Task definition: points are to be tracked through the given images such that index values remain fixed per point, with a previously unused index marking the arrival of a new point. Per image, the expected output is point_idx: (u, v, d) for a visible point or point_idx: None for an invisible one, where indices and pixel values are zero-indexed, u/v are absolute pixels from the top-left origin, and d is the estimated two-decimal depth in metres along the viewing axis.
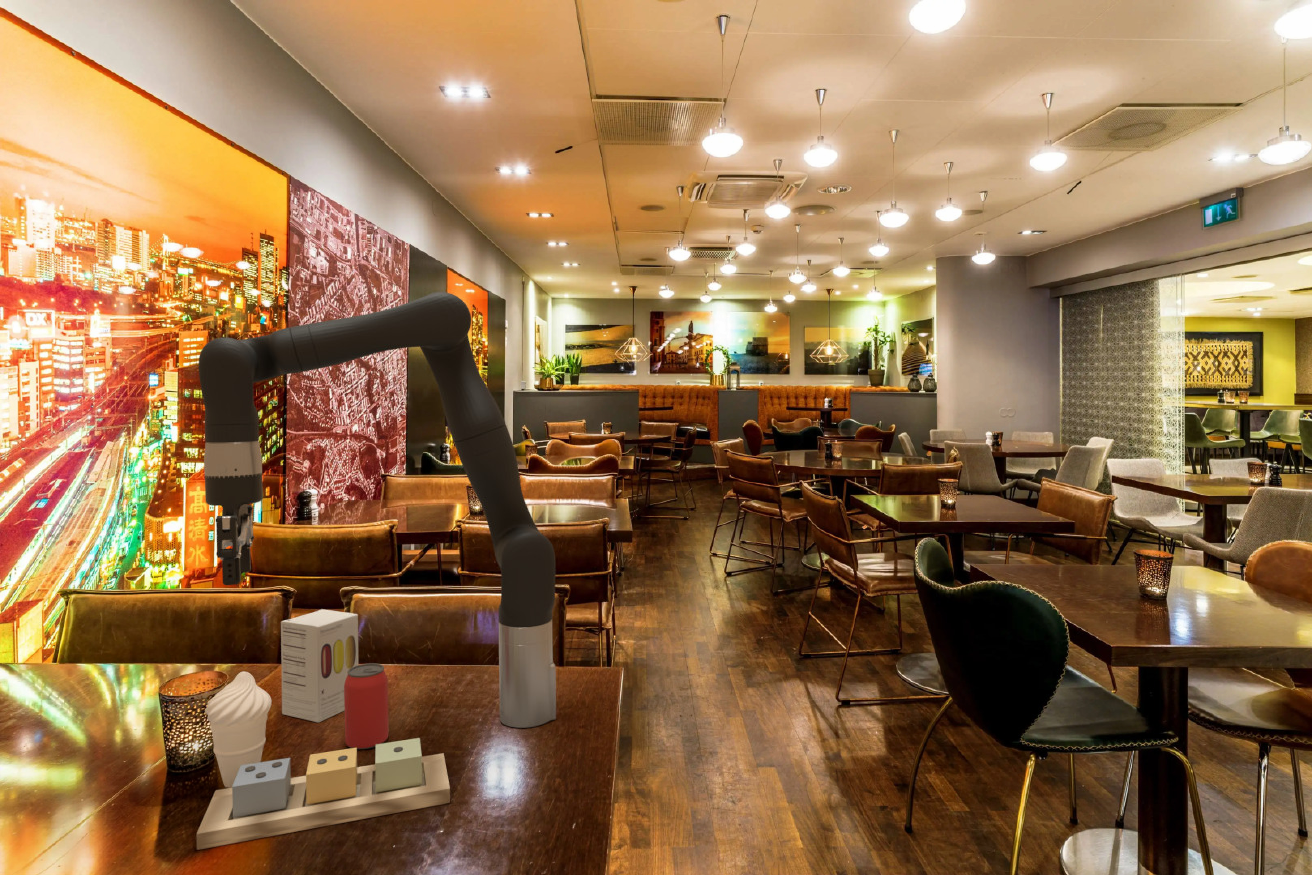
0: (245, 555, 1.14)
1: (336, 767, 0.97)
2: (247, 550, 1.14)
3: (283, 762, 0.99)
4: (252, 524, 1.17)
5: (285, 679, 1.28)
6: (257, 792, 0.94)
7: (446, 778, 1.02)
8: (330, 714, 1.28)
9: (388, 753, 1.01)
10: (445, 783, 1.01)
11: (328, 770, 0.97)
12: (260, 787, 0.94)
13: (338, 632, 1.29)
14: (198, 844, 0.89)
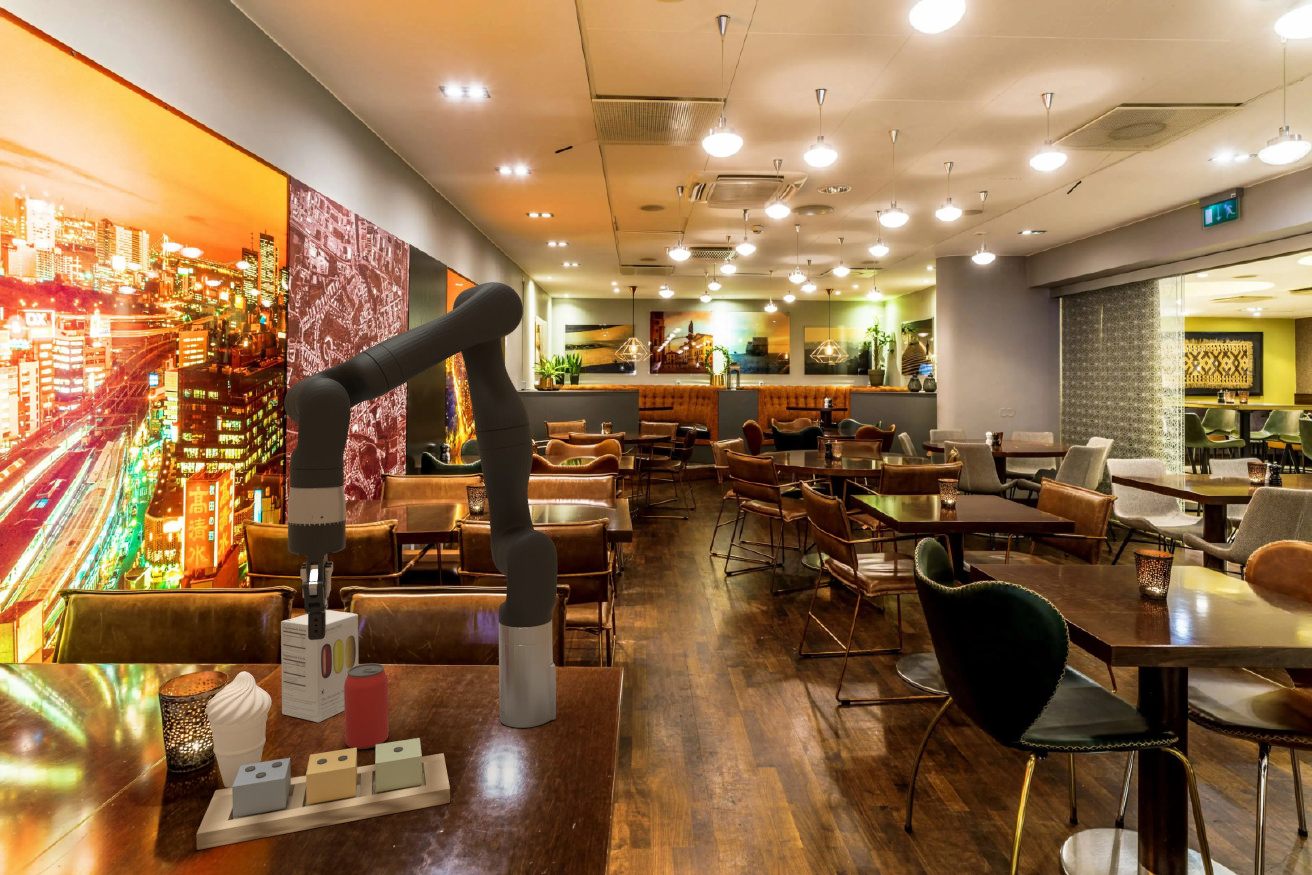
0: None
1: (336, 767, 0.97)
2: None
3: (283, 762, 0.99)
4: None
5: (285, 679, 1.28)
6: (257, 792, 0.94)
7: (446, 778, 1.02)
8: (330, 714, 1.28)
9: (388, 753, 1.01)
10: (445, 783, 1.01)
11: (328, 770, 0.97)
12: (260, 787, 0.94)
13: (338, 632, 1.29)
14: (198, 844, 0.89)
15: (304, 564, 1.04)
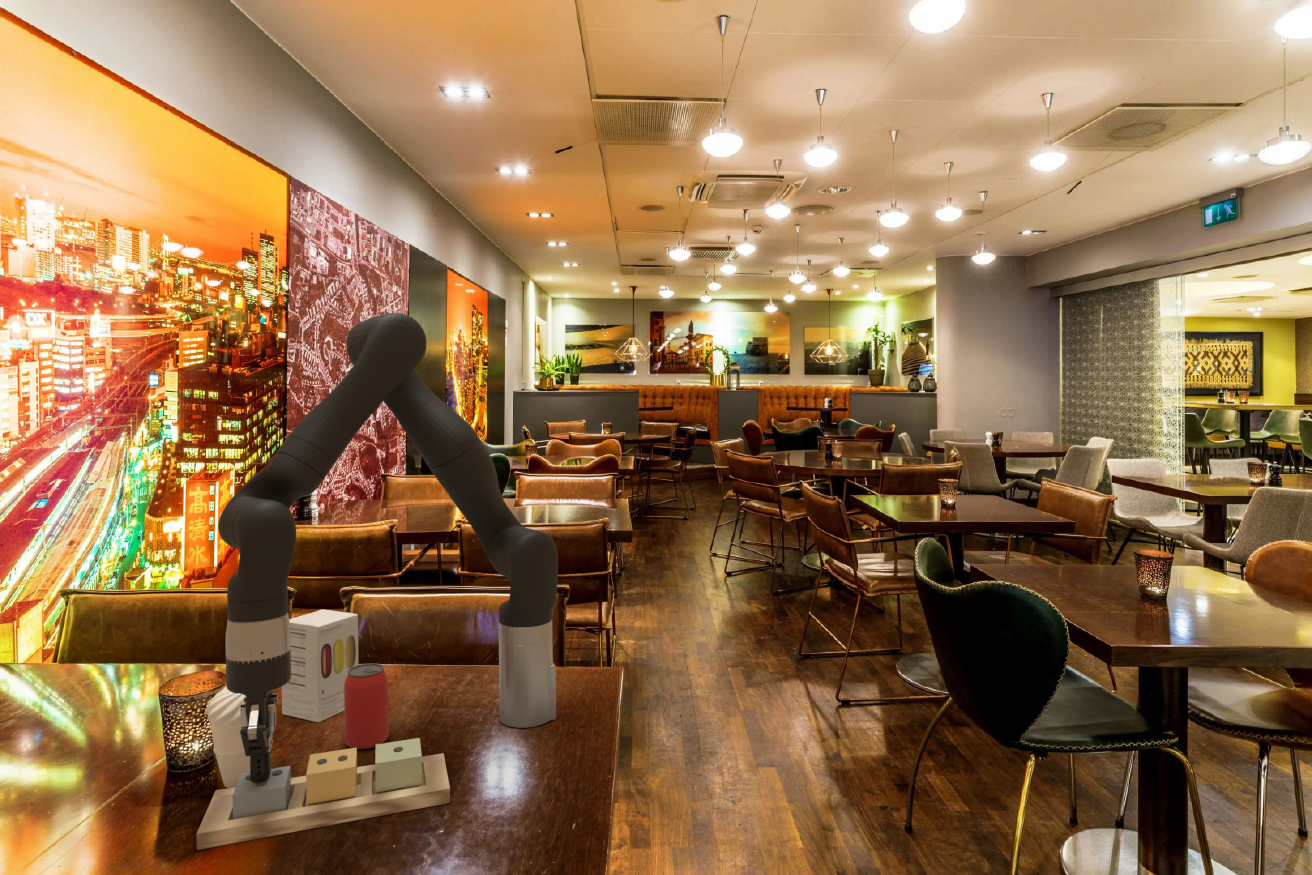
0: None
1: (336, 767, 0.97)
2: None
3: (283, 770, 0.99)
4: None
5: None
6: (257, 801, 0.94)
7: (446, 778, 1.02)
8: (330, 714, 1.28)
9: (388, 753, 1.01)
10: (445, 783, 1.01)
11: (328, 770, 0.97)
12: (260, 795, 0.94)
13: (338, 632, 1.29)
14: (198, 844, 0.89)
15: (246, 699, 0.96)
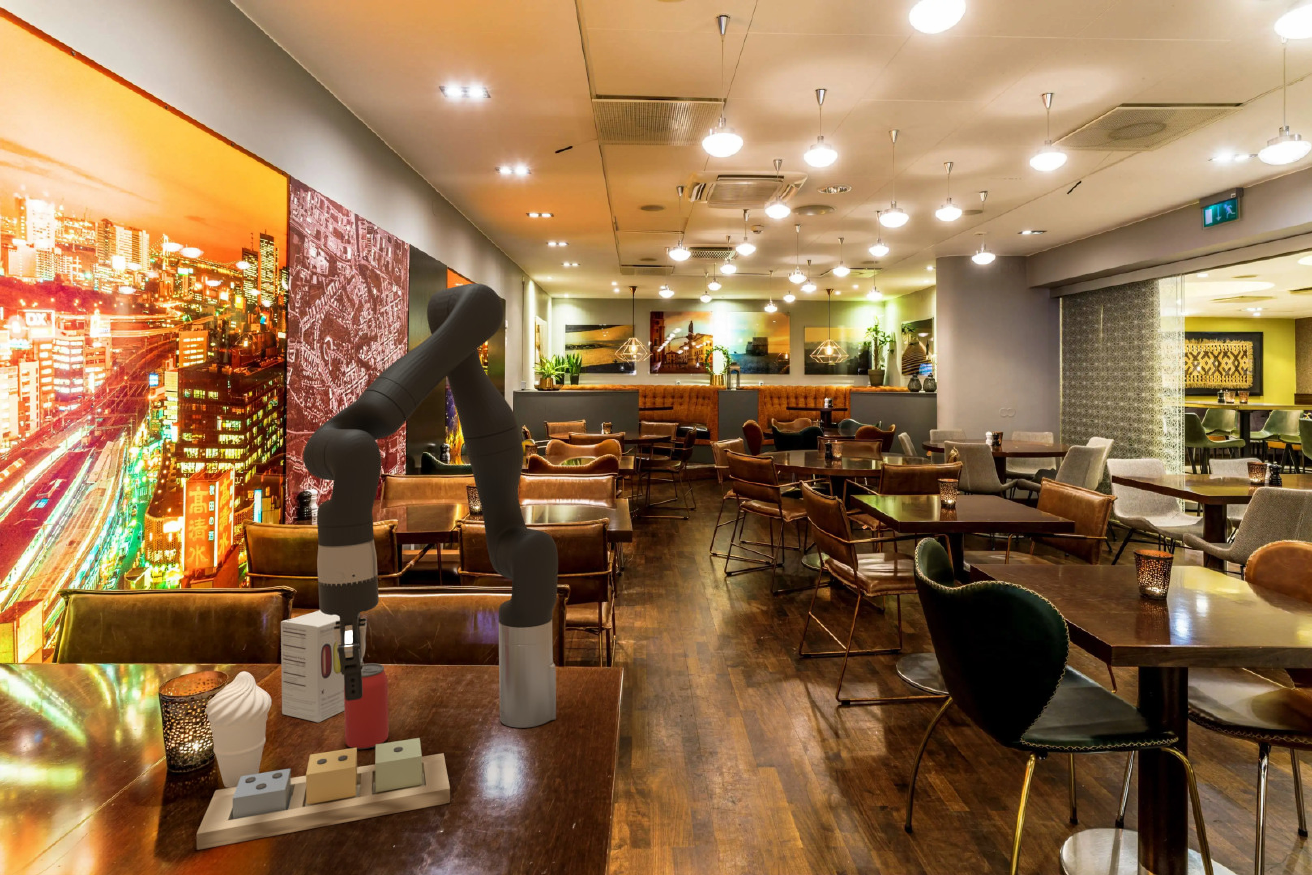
0: None
1: (336, 767, 0.97)
2: None
3: (283, 773, 0.99)
4: None
5: (285, 679, 1.28)
6: (258, 804, 0.94)
7: (446, 778, 1.02)
8: (330, 714, 1.28)
9: (388, 753, 1.01)
10: (445, 783, 1.01)
11: (328, 770, 0.97)
12: (260, 798, 0.94)
13: None
14: (198, 844, 0.89)
15: (337, 622, 1.00)
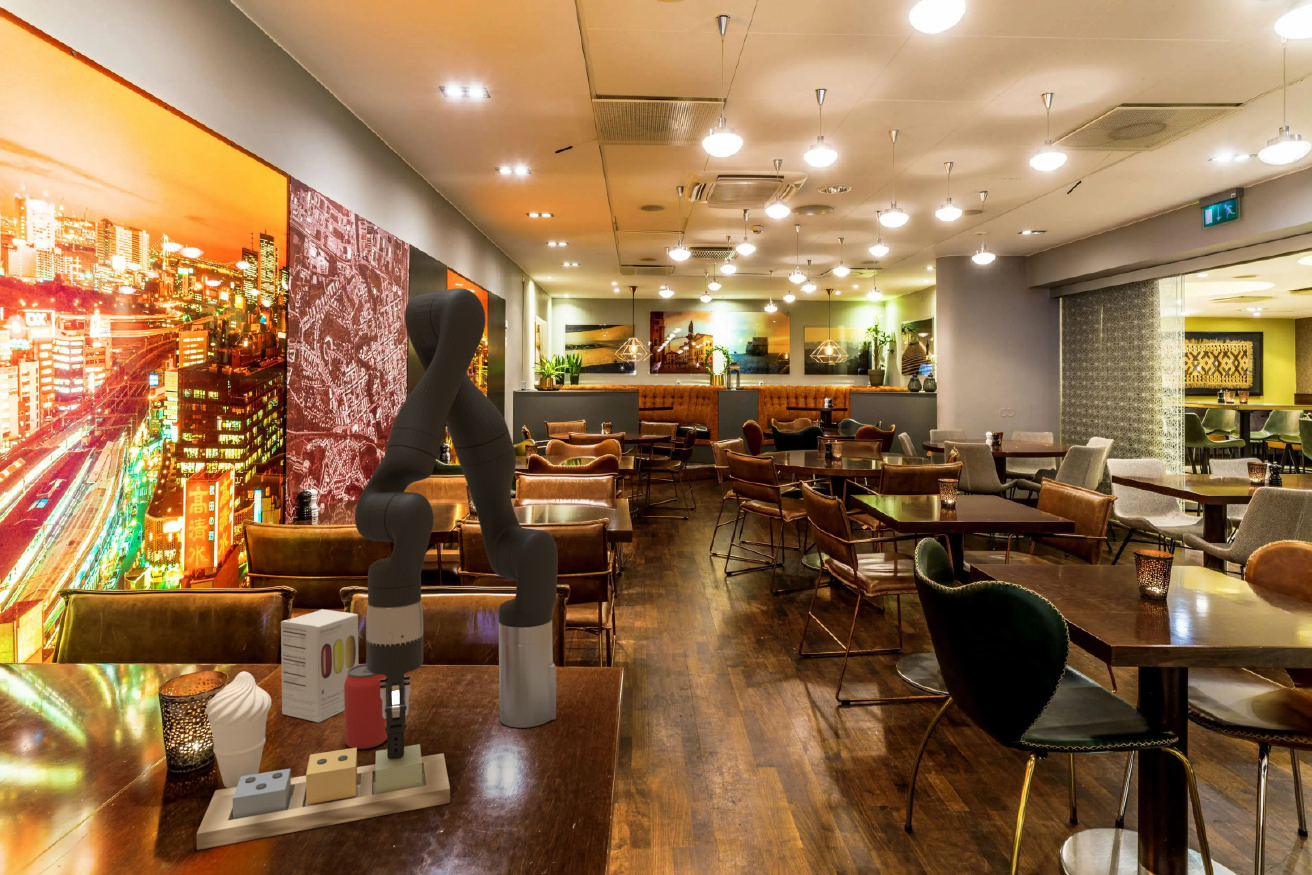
0: None
1: (336, 767, 0.97)
2: None
3: (283, 773, 0.99)
4: None
5: (285, 679, 1.28)
6: (258, 804, 0.94)
7: (446, 778, 1.02)
8: (330, 714, 1.28)
9: (388, 760, 1.01)
10: (445, 783, 1.01)
11: (328, 770, 0.97)
12: (260, 798, 0.94)
13: (338, 632, 1.29)
14: (198, 844, 0.89)
15: (382, 680, 1.02)
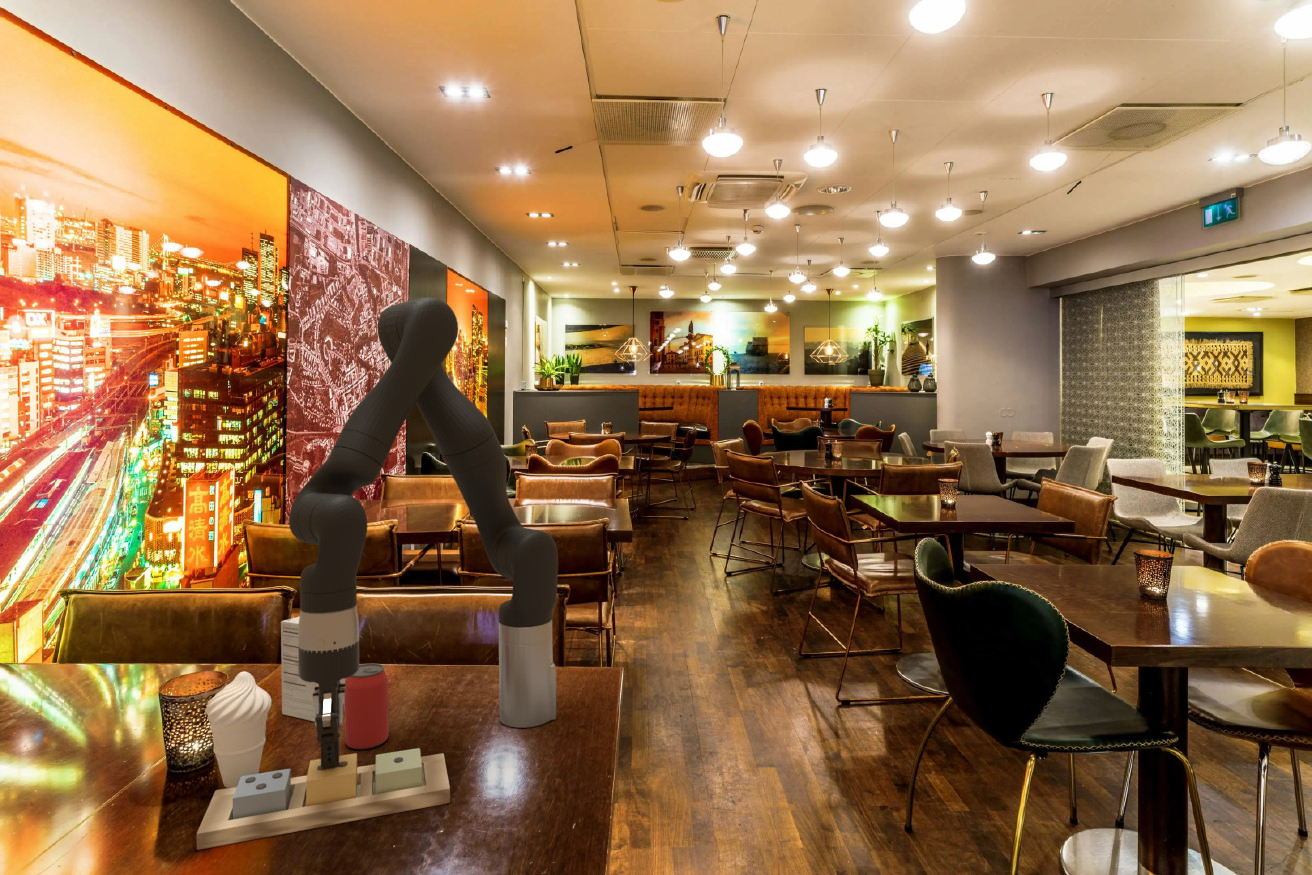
0: None
1: (336, 773, 0.97)
2: None
3: (283, 773, 0.99)
4: None
5: (285, 679, 1.28)
6: (258, 804, 0.94)
7: (446, 778, 1.02)
8: None
9: (389, 764, 1.01)
10: (445, 783, 1.01)
11: (328, 776, 0.97)
12: (260, 798, 0.94)
13: None
14: (198, 844, 0.89)
15: (316, 688, 0.99)
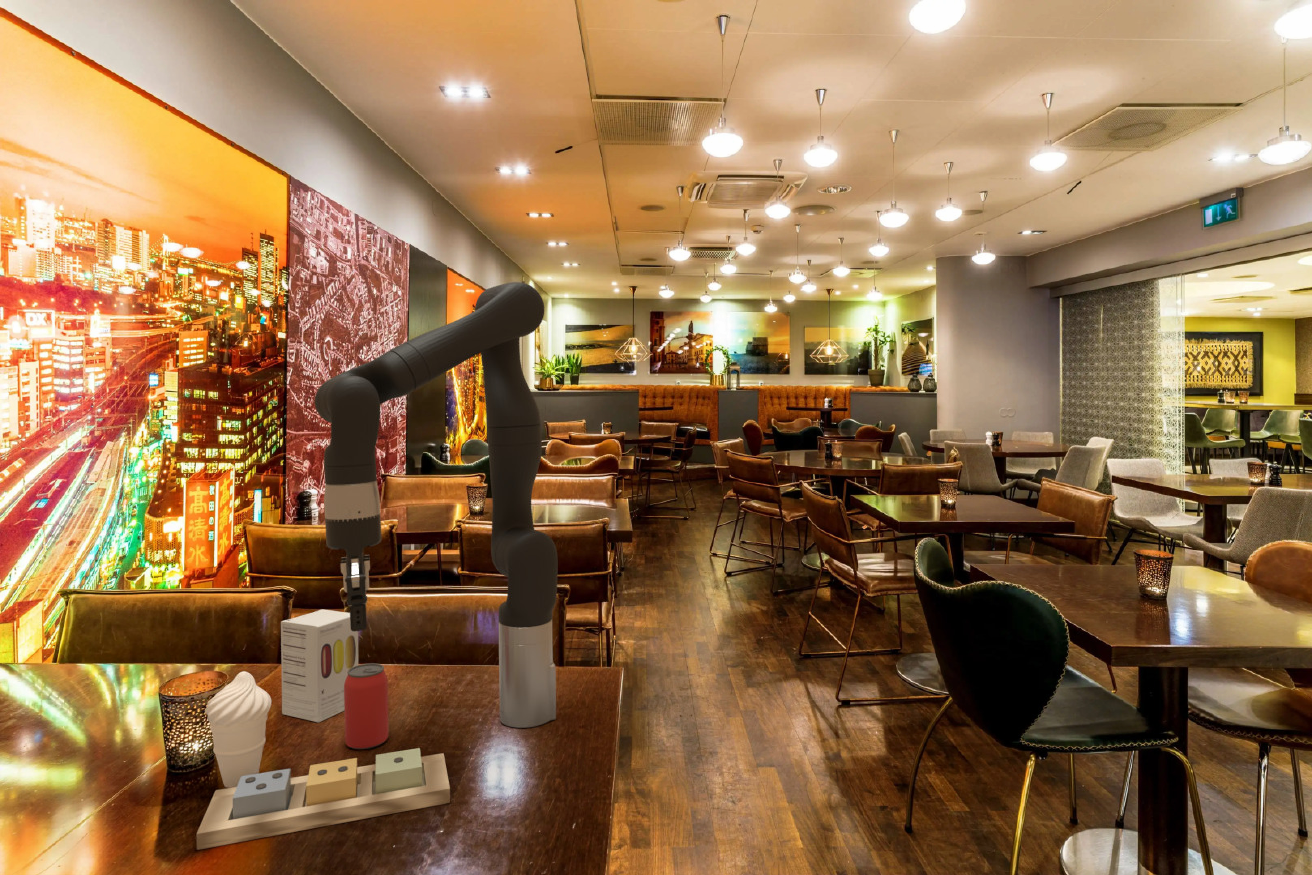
0: None
1: (336, 778, 0.97)
2: None
3: (283, 773, 0.99)
4: None
5: (285, 679, 1.28)
6: (258, 804, 0.94)
7: (446, 778, 1.02)
8: (330, 714, 1.28)
9: (389, 764, 1.01)
10: (445, 783, 1.01)
11: (329, 781, 0.97)
12: (260, 798, 0.94)
13: (338, 632, 1.29)
14: (198, 844, 0.89)
15: (342, 558, 1.07)
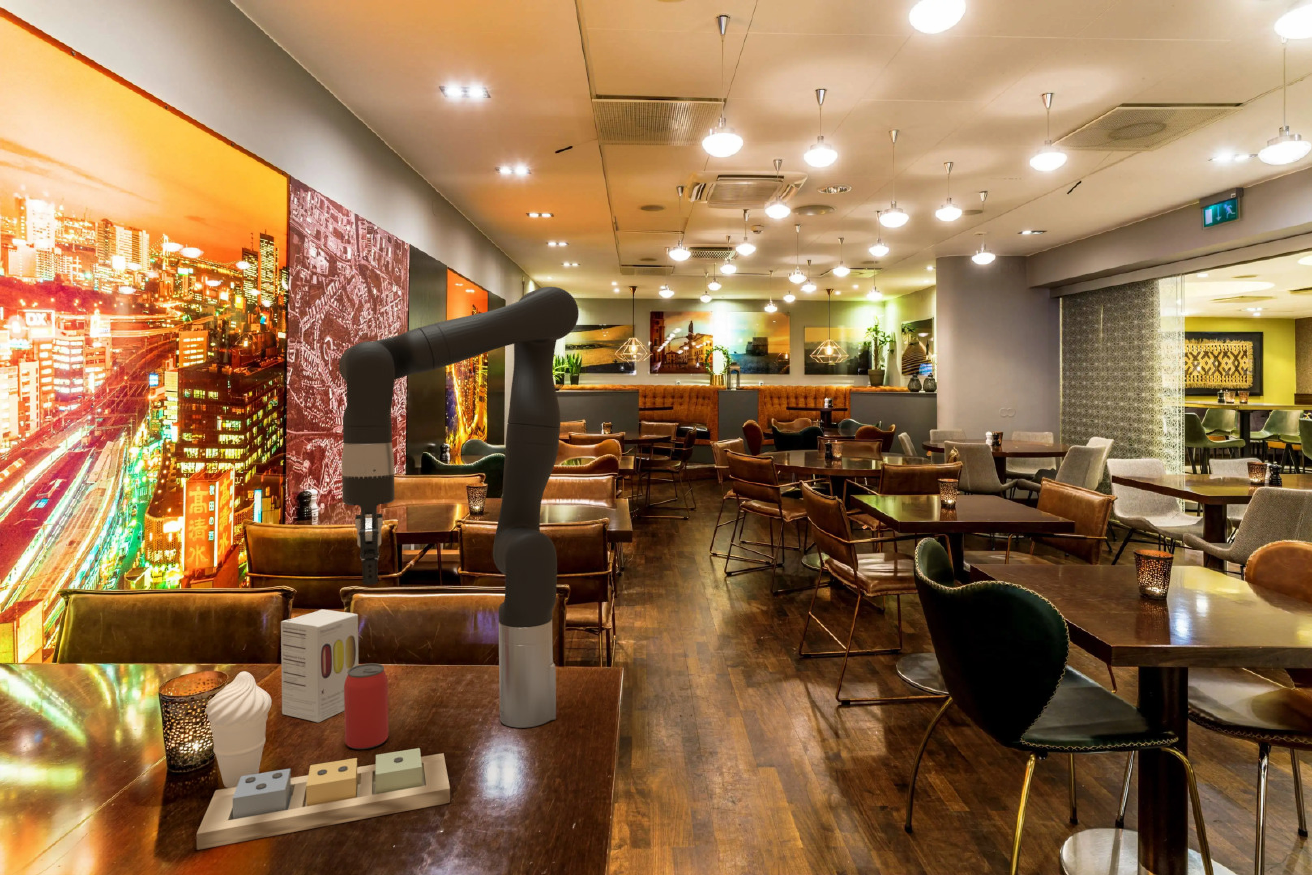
0: None
1: (336, 778, 0.97)
2: None
3: (283, 773, 0.99)
4: None
5: (285, 679, 1.28)
6: (258, 804, 0.94)
7: (446, 778, 1.02)
8: (330, 714, 1.28)
9: (389, 764, 1.01)
10: (445, 783, 1.01)
11: (329, 781, 0.97)
12: (260, 798, 0.94)
13: (338, 632, 1.29)
14: (198, 844, 0.89)
15: (357, 515, 1.13)
